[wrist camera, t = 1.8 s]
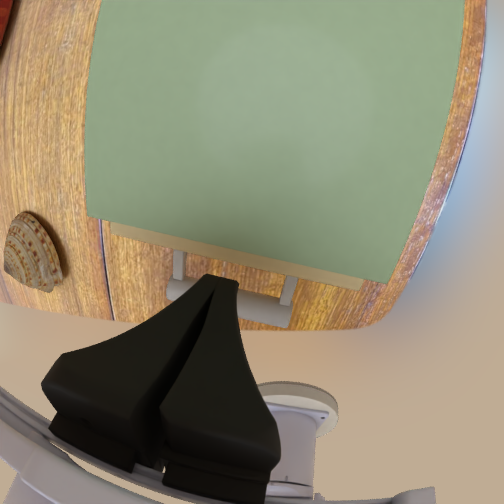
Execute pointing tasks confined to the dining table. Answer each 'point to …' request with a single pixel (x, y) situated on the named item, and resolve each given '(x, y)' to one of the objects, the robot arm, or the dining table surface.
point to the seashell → (31, 254)
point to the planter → (4, 16)
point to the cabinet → (271, 123)
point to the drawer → (247, 301)
